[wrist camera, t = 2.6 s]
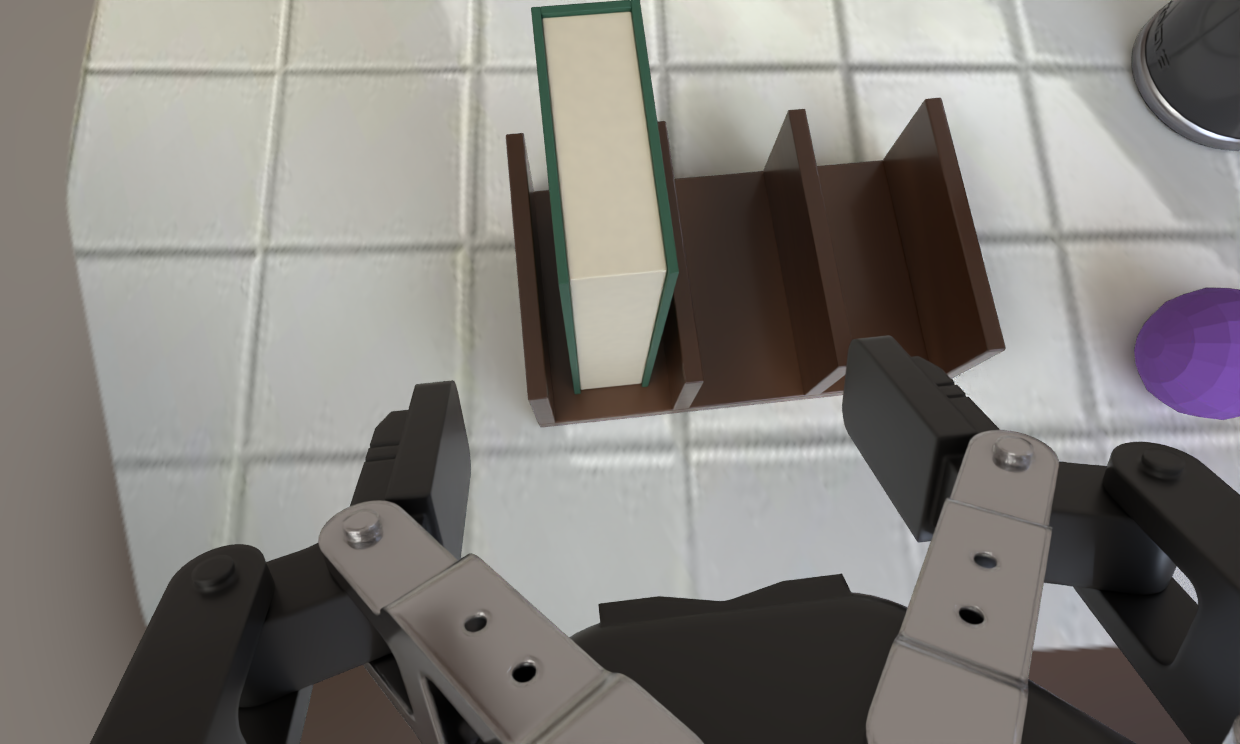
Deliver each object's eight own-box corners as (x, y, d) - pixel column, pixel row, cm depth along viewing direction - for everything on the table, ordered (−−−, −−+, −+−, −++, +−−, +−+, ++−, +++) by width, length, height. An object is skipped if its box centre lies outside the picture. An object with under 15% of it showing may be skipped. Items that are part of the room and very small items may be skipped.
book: (625, 205, 37) (639, -2, 24) (648, 386, 35) (679, 272, 21) (555, 211, 37) (530, 6, 24) (574, 394, 35) (558, 284, 21)
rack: (891, 166, 39) (941, 96, 33) (941, 384, 36) (1007, 349, 30) (519, 199, 38) (505, 133, 32) (539, 427, 35) (527, 400, 29)
